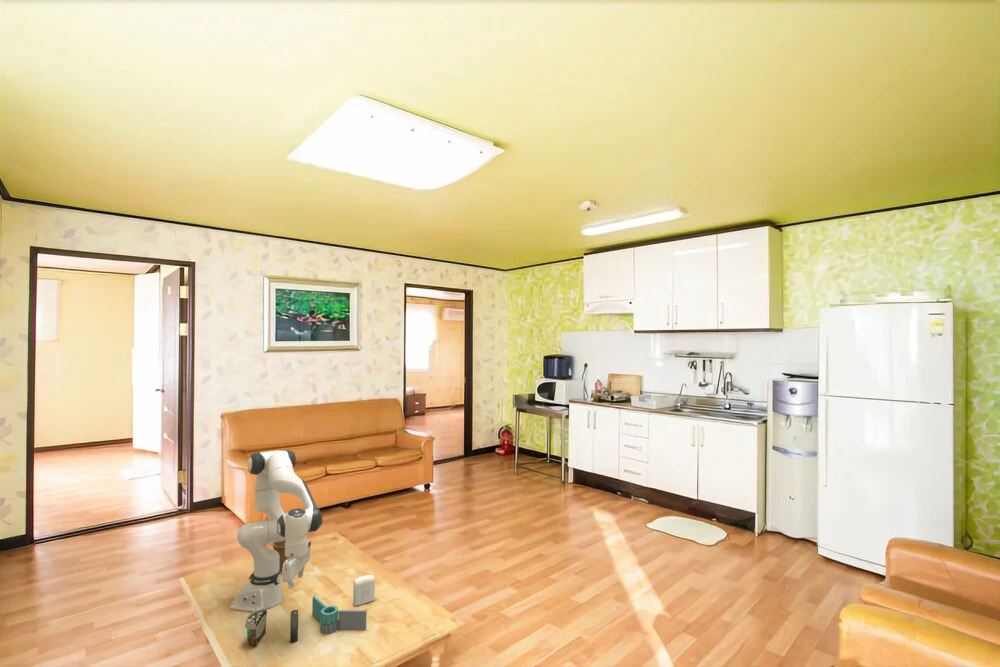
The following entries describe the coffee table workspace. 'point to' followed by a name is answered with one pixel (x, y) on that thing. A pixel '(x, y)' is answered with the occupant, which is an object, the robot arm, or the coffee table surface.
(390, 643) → the coffee table surface
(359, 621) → the frame leaf
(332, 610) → the teal hinge knuckle plate
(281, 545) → the plant pot
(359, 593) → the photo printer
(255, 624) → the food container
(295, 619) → the hinge pin
